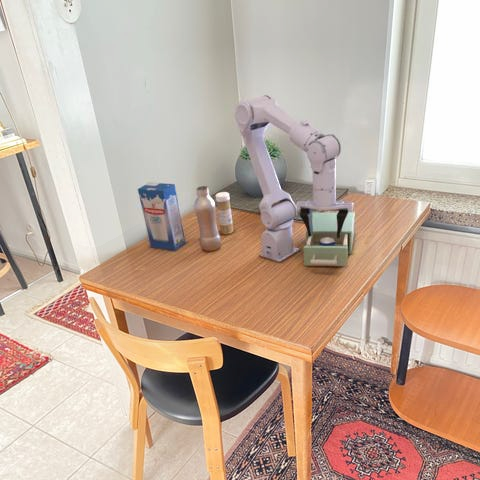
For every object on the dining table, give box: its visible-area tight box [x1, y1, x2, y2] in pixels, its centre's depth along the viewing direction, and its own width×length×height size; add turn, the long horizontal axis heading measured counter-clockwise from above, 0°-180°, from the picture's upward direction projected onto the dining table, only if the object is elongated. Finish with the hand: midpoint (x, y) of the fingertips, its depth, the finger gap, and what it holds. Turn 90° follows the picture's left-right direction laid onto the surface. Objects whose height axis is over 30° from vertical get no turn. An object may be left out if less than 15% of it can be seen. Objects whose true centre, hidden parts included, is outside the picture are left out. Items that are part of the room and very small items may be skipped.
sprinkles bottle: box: [214, 191, 234, 235], centre depth 161 cm, size 5×5×14 cm
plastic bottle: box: [193, 185, 222, 252], centre depth 150 cm, size 6×7×20 cm
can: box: [319, 237, 334, 246], centre depth 138 cm, size 4×4×4 cm
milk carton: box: [137, 182, 186, 252], centre depth 156 cm, size 10×6×20 cm, turn 62°
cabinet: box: [305, 211, 355, 255], centre depth 147 cm, size 14×13×7 cm
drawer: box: [303, 233, 349, 267], centre depth 138 cm, size 18×12×6 cm, turn 166°
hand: (324, 235), depth 130 cm, fingers open, 7 cm apart
